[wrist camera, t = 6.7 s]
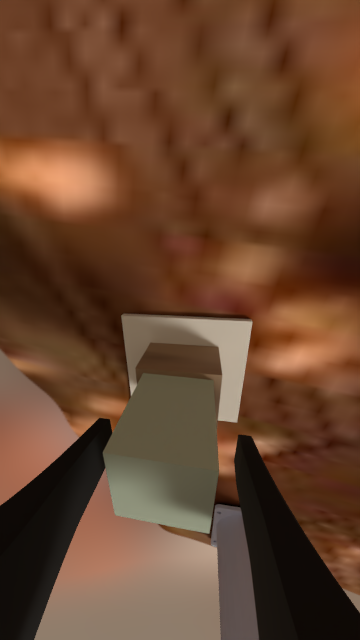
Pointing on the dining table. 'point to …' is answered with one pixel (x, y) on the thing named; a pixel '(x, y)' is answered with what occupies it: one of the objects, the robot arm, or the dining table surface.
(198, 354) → the walnut block
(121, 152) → the dining table surface
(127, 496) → the sage block
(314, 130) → the dining table surface
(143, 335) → the stone tile
